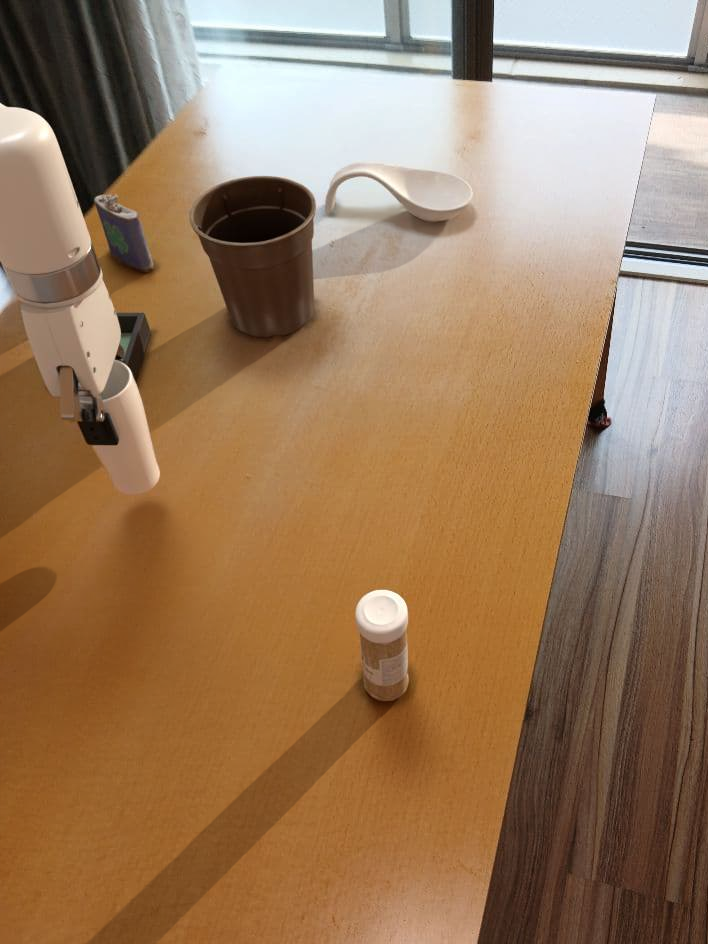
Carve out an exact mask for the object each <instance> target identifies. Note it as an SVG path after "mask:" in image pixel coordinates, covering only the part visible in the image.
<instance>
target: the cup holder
mask: <svg viewBox="0 0 708 944" xmlns="http://www.w3.org/2000/svg"><path fill="white" fill-rule="evenodd" d="M116 315H117V318H118V321H119V325H120V330H121V338H120V343H119V344H120V345H121V346H122V347H123V349H124V354H125V356H124V359H121V360H123V361H126V363H127V366H128V367H129V369H130V370H131V372H132V375H133V377H134V380H135V382H136V383H137V380H138V376H139V374H140V371H141V367H142V364H143V361H144V358H145V355H146V354H145V353H146V351H147V347H148V344H149V341H150V338H151V335H152V331H151V329H150V325H149V321H148V319H147V317H146V313H145V312H116Z"/></svg>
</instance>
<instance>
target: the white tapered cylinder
mask: <svg viewBox="0 0 708 944" xmlns="http://www.w3.org/2000/svg"><path fill="white" fill-rule="evenodd" d="M78 387H83V386H82V385H81V384H80V383H79V382H78ZM101 396H102V402H103V408H104V413H109V415H110V418H111V420H112V423H113V425H114V428H115V430H116V433H117V435H118V438H119V442H118V445H90V446H91V448H92V450H93V451H94V453H95V455H96V457H97V458H98V460H99V461H100V463H101V464H102V466H103V468H104V470H105V472H106V475H108V477H109V480H110V482H111V484H112V486H113V487H114V489H115V490H116V491H117V492H118V493H121V494H123V495H126V496H139V495H143V494H147V493H148V492H150V491H151V490H153V488H155V487H156V485H157V484H158V482H159V481H160V478H161V470H160V467H159V464H158V461H157V458H156V453H155V450H154V445H153V441H152V437H151V431H150V427H149V424H148V423H149V422H148V419H147V414H146V410H145V406H144V402H143V399H142V396H141V393H140V390H139V386H138V385H137V381H136V382H135V380H134V377H133V375H132V372H131V370H130V369H129V367H128V366H127V365H125V364H124V363H122V362H120V361H118V360H114V362H113V365H112V368H111V371H110V374H109V377H108V380H107V383H106V385H105V388H104V390H103V391H102V392H101ZM91 397H92V396H79V402H80V407H81V408H88V409H93V404H92V398H91Z"/></svg>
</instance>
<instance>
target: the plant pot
mask: <svg viewBox="0 0 708 944" xmlns="http://www.w3.org/2000/svg"><path fill="white" fill-rule="evenodd" d="M316 211H317V200H316V197H315V195H314V193H313V192H312V191H311V190H310V189H309V188H308V187H306V186H305V185H303V184H302V183H299V182H297V181H294V180H292V179H289V178H285V177H280V176H275V175H274V176H273V175H252V176H244V177H238V178H234V179H231V180H227V181H224V182H221V183H219V184H216V185H215V186H213V187H210V188H209V189H207V190H206V191H204V192H203V193H202V194H201V195H199V196H198V197H197V198H196V200H195V201H194V202H193V204H192V205H191V207H190V210H189V212H188V219H189V223H190V226H191V228H192V230H193V232H194V233H195V234H196V235H197V236H198V239H199V241H200V244H201V247H202V249H203V252H204V253H205V254H206V256H208V259H209V262H210V265H211V267H212V271H213V274H214V276H215V278H216V281H217V284H218V286H219V290H220V293H221V295H222V298H223V301H224V305H225V307H226V310H227V312H228V315H229V319H230V322H231V323H232V325H233V326H234V327H235V328H236V329H237V330H238V331H240V332H242V333H243V334H245V335H249V336H250V337H251V336H252V337H255V338H263V339H268V338H270V337H272V336H274V335H279V336H283V337H284V336H286V335H290V334H292V333H294V332H296V331H299V330H300V329H301V328H302V327H304V326H305V325H307V324H308V322H310V320H311V319H312V317H313V316H314V314H315V313H314V312H315V306H316V305H315V304H316V303H315V284H314V262H313V238H314V235H315V227H314V217H315V215H316Z"/></svg>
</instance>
